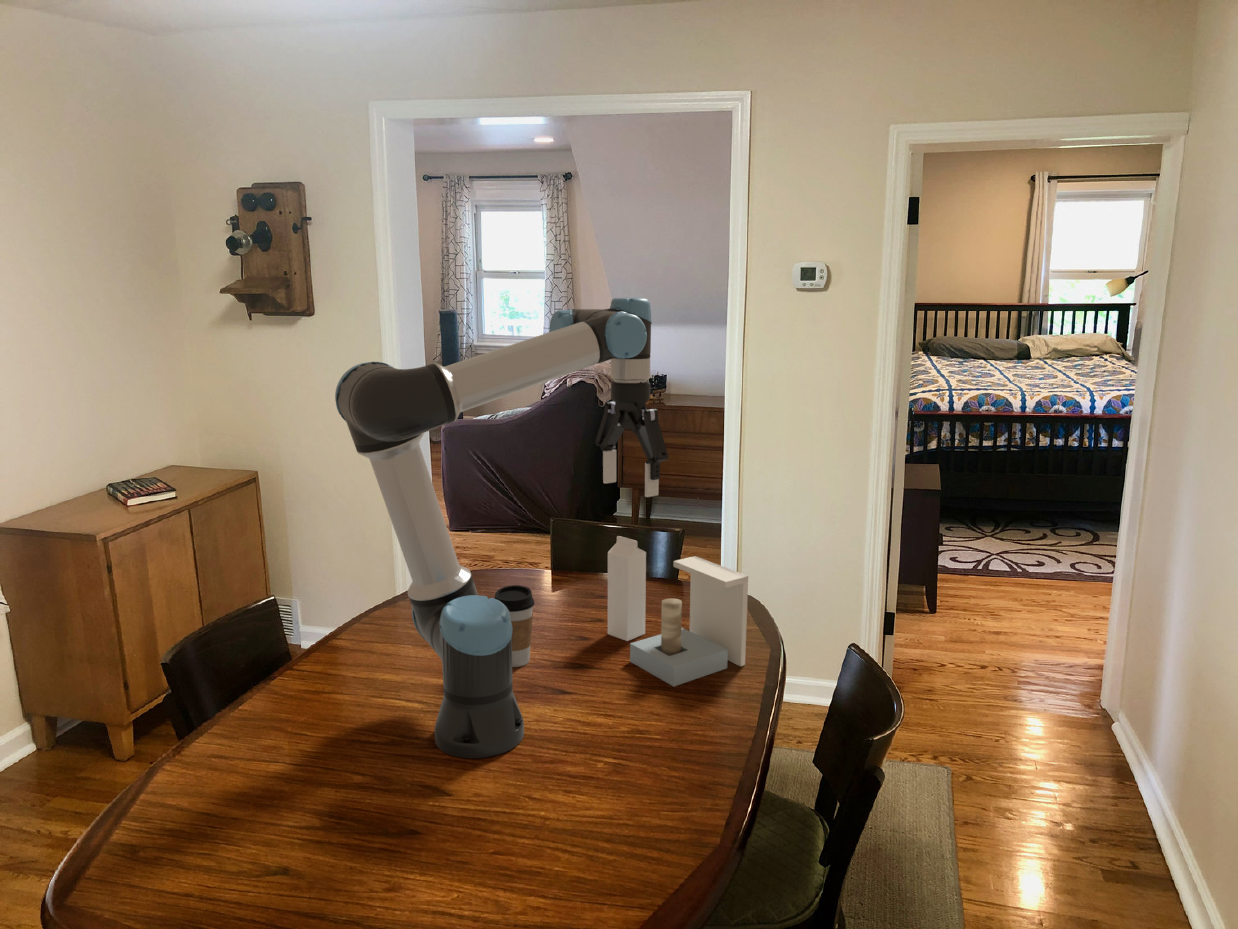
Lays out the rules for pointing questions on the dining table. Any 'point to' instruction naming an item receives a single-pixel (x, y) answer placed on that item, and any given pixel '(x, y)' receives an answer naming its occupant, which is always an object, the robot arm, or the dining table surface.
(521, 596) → the coffee cup
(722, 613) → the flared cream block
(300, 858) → the dining table surface
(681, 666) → the socket block
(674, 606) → the birch peg
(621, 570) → the milk
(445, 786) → the dining table surface
